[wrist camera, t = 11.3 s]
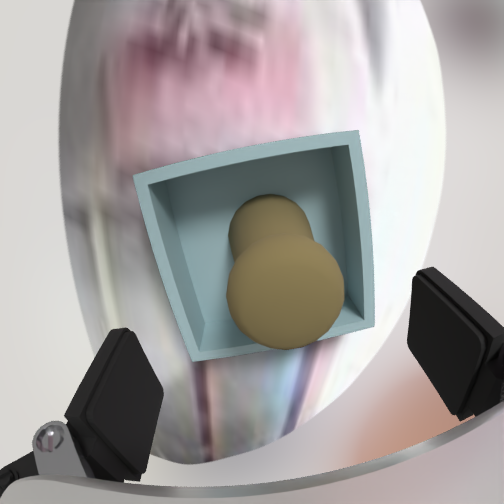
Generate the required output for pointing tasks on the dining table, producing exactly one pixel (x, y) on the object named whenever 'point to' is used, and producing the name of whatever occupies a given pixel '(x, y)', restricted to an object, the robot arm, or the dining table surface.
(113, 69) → the dining table surface
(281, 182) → the bin
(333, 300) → the cork
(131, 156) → the dining table surface
